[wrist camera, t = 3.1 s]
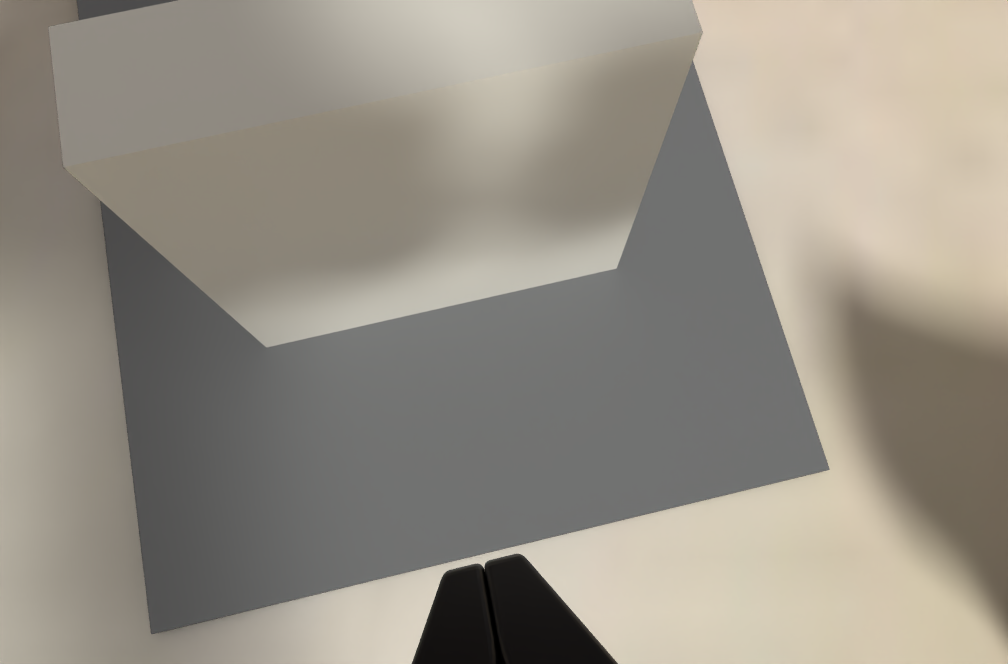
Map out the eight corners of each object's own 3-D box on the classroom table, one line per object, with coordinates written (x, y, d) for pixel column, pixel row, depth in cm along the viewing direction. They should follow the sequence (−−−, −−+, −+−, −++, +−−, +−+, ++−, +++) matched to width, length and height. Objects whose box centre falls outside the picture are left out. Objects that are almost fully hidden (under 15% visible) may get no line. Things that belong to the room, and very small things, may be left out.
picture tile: (616, 268, 24) (703, 32, 13) (266, 347, 23) (63, 167, 13) (593, 187, 24) (657, -100, 14) (252, 262, 24) (47, 24, 13)
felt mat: (825, 470, 23) (829, 469, 22) (155, 633, 22) (150, 634, 21) (610, -174, 28) (611, -182, 28) (73, -68, 27) (67, -75, 27)
